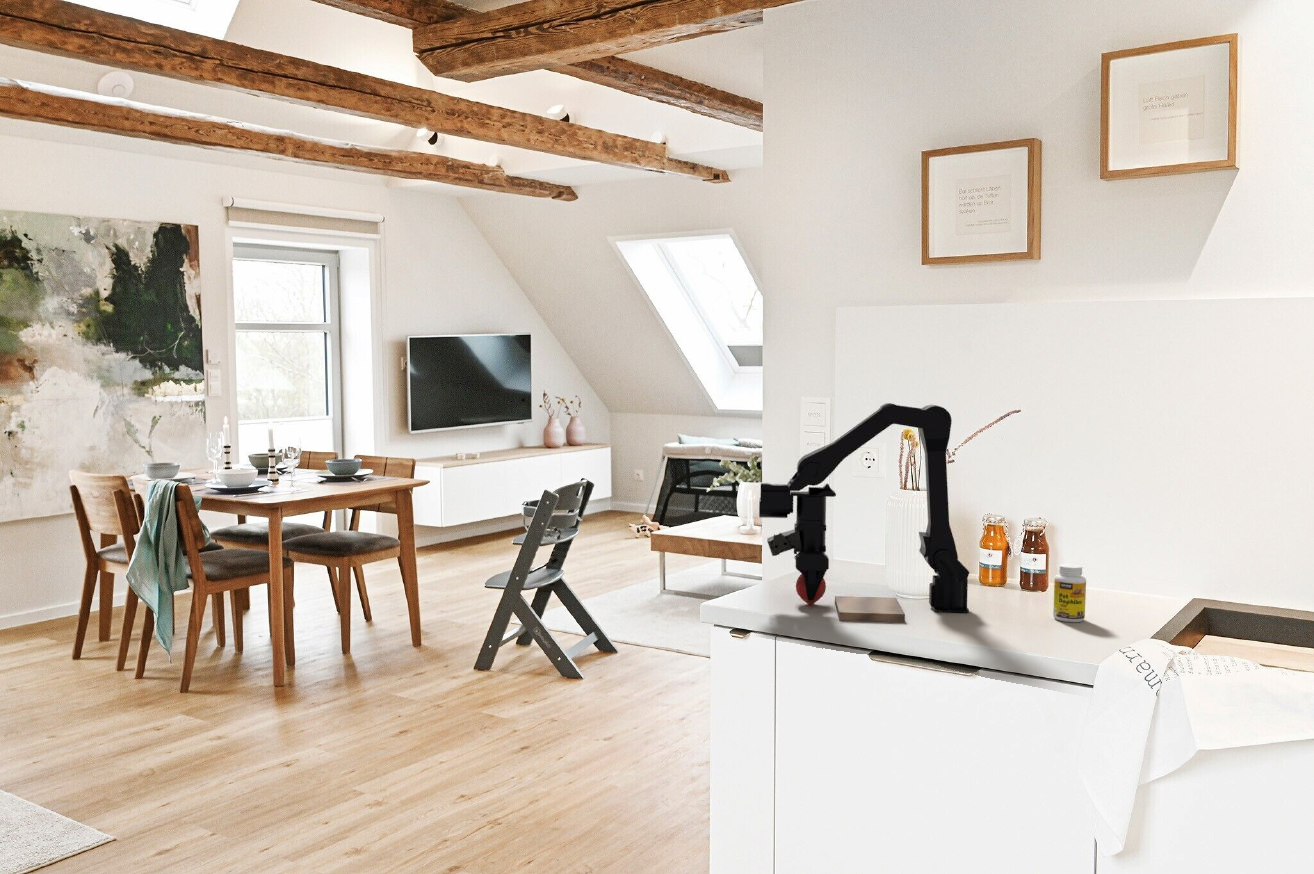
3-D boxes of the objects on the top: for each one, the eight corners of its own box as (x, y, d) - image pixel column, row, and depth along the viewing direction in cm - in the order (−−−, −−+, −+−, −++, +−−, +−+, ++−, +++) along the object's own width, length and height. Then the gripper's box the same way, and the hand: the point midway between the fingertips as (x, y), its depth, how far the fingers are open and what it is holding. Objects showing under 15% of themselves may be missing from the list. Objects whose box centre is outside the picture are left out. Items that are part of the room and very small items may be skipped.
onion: (816, 609, 210) (816, 569, 209) (790, 605, 213) (790, 565, 212) (830, 604, 214) (831, 564, 214) (804, 600, 218) (805, 561, 217)
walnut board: (895, 605, 214) (896, 597, 214) (904, 622, 200) (904, 614, 200) (834, 603, 215) (834, 595, 215) (839, 620, 201) (839, 612, 201)
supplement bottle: (1053, 621, 201) (1055, 567, 200) (1052, 615, 206) (1054, 562, 205) (1086, 624, 199) (1087, 569, 198) (1083, 617, 205) (1085, 563, 204)
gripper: (769, 511, 222) (768, 585, 224) (769, 524, 204) (768, 606, 205) (824, 512, 221) (823, 587, 222) (829, 526, 203) (828, 608, 204)
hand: (809, 596), depth 213 cm, fingers closed on onion, 6 cm apart
